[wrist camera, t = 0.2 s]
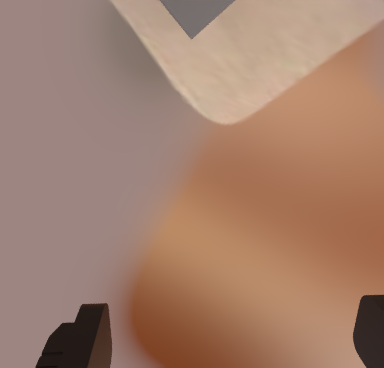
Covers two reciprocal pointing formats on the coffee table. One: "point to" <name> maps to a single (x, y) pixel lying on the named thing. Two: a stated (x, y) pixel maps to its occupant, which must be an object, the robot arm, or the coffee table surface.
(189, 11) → the plate
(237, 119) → the coffee table surface
